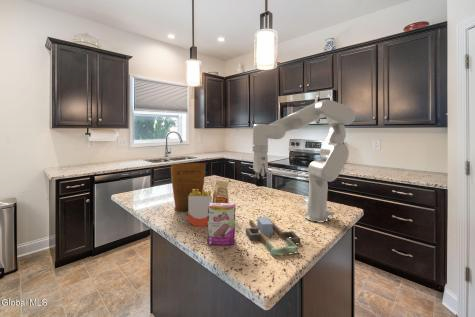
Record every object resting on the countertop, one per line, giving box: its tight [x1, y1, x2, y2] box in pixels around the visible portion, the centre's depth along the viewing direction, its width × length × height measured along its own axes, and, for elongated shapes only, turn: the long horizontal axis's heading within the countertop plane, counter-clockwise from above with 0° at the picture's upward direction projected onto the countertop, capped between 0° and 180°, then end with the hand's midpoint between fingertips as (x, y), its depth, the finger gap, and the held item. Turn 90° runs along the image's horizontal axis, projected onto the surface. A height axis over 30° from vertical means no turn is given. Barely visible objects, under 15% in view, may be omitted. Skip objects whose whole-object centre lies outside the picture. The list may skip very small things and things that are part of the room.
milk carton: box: [212, 179, 230, 203], centre depth 131 cm, size 9×9×20 cm
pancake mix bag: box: [170, 162, 206, 213], centre depth 138 cm, size 7×19×28 cm, turn 96°
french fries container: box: [187, 188, 213, 227], centre depth 118 cm, size 5×11×18 cm, turn 91°
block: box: [256, 216, 274, 236], centre depth 113 cm, size 5×9×5 cm, turn 9°
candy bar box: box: [206, 202, 237, 246], centre depth 99 cm, size 11×5×16 cm, turn 92°
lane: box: [245, 219, 301, 257], centre depth 106 cm, size 19×31×2 cm, turn 13°
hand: (259, 185), depth 121 cm, fingers closed
